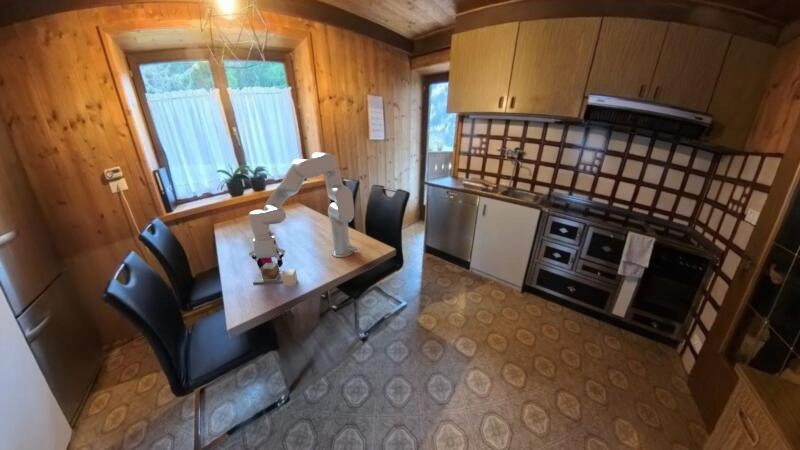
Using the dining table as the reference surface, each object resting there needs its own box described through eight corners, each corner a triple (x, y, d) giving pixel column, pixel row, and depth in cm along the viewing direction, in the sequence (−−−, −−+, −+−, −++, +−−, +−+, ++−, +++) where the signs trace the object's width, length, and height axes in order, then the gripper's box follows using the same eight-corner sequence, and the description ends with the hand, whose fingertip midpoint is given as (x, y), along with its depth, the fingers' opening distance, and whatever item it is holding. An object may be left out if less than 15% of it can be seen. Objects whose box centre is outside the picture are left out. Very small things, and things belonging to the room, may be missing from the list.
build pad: (289, 272, 139) (288, 270, 139) (282, 282, 130) (281, 281, 129) (262, 273, 139) (261, 271, 138) (253, 284, 129) (252, 282, 129)
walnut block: (279, 272, 137) (277, 262, 135) (275, 279, 131) (272, 268, 129) (268, 273, 137) (265, 263, 134) (263, 279, 131) (260, 269, 129)
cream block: (297, 279, 132) (295, 269, 130) (294, 285, 128) (291, 274, 126) (287, 280, 132) (285, 269, 130) (283, 285, 128) (281, 275, 125)
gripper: (283, 231, 129) (290, 261, 136) (248, 233, 129) (256, 263, 135) (278, 238, 122) (285, 269, 129) (240, 240, 122) (250, 271, 129)
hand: (271, 266), depth 132 cm, fingers open, 9 cm apart
